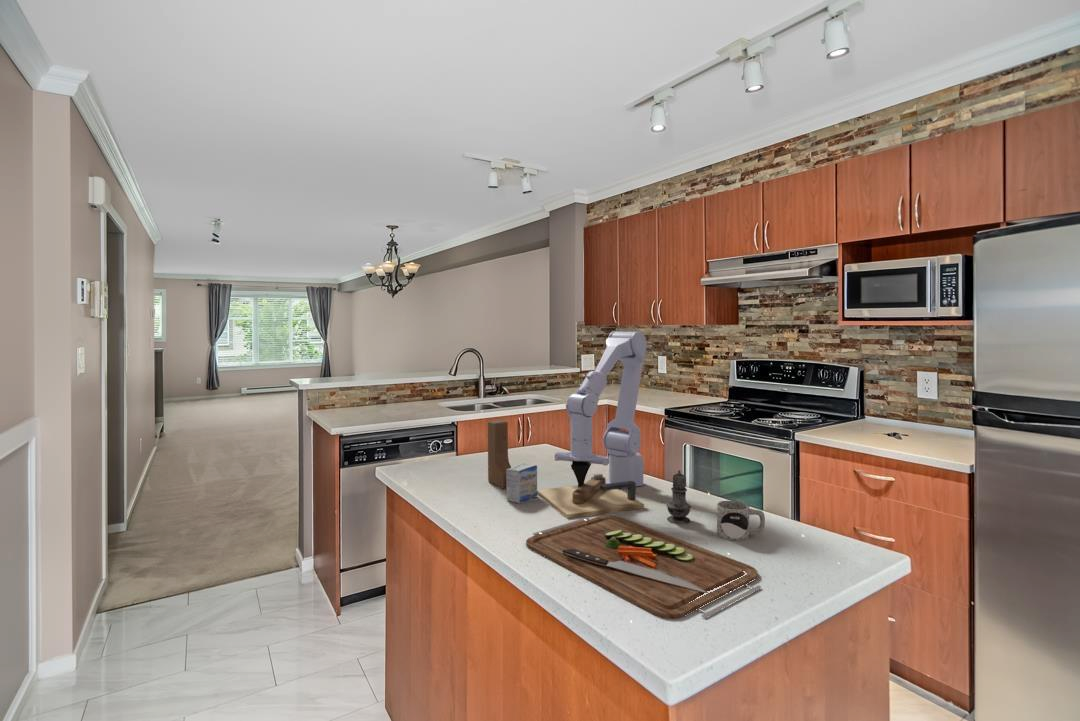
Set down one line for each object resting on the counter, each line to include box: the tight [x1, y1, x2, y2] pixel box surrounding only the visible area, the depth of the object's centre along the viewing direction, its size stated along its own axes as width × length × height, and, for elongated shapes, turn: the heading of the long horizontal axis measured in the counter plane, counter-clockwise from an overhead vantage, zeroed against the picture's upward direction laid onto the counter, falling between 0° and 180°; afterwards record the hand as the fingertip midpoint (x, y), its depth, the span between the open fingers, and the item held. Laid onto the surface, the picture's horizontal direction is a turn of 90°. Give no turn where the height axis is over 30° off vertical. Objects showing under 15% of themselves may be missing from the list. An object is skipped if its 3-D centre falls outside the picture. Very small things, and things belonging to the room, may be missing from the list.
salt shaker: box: [665, 469, 693, 525], centre depth 132 cm, size 6×6×12 cm
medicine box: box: [506, 462, 538, 504], centre depth 149 cm, size 8×4×9 cm, turn 143°
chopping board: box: [525, 514, 762, 620], centre depth 111 cm, size 45×27×3 cm, turn 38°
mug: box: [716, 500, 766, 542], centre depth 122 cm, size 10×7×7 cm
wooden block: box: [487, 419, 512, 489], centre depth 162 cm, size 9×4×18 cm, turn 34°
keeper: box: [600, 481, 637, 500], centre depth 143 cm, size 9×2×6 cm, turn 111°
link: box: [573, 472, 607, 504], centre depth 149 cm, size 18×4×3 cm, turn 155°
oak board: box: [537, 483, 645, 520], centre depth 147 cm, size 21×21×1 cm
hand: (581, 489), depth 149 cm, fingers closed, pressing on link
